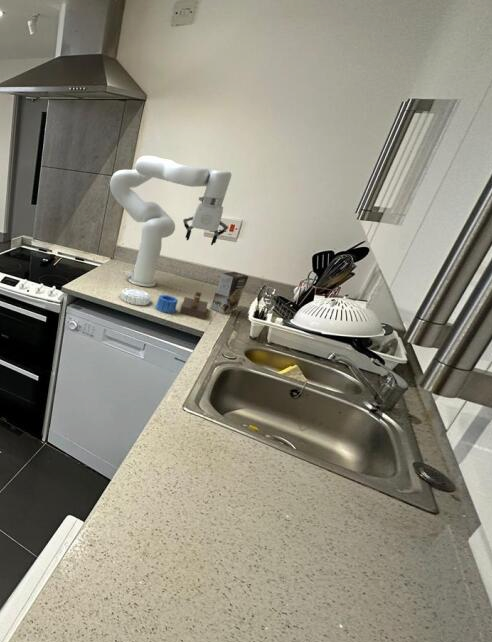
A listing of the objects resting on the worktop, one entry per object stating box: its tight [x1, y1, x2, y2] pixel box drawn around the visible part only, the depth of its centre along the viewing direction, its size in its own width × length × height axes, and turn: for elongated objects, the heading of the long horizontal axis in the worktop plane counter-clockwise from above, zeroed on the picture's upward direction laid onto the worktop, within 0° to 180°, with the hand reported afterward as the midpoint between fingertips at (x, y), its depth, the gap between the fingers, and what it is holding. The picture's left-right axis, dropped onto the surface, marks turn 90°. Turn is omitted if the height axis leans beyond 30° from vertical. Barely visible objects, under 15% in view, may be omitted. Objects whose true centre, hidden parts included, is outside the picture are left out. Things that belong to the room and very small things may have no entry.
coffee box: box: [209, 271, 249, 314], centre depth 165 cm, size 9×6×16 cm
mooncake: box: [120, 287, 151, 306], centre depth 170 cm, size 12×12×4 cm
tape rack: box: [179, 290, 209, 320], centre depth 163 cm, size 9×13×8 cm
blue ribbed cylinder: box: [155, 294, 179, 314], centre depth 163 cm, size 7×7×5 cm
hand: (199, 242), depth 168 cm, fingers open, 9 cm apart
